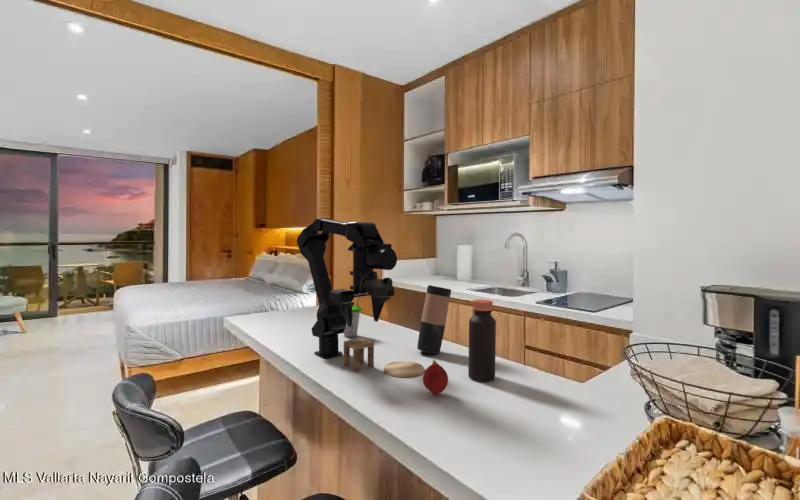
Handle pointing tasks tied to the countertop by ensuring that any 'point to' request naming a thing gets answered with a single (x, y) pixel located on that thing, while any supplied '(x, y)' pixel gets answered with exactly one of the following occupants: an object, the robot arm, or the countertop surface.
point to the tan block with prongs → (358, 352)
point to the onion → (435, 378)
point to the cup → (353, 322)
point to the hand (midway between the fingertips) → (363, 323)
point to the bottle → (482, 342)
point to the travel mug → (433, 319)
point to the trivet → (403, 369)
